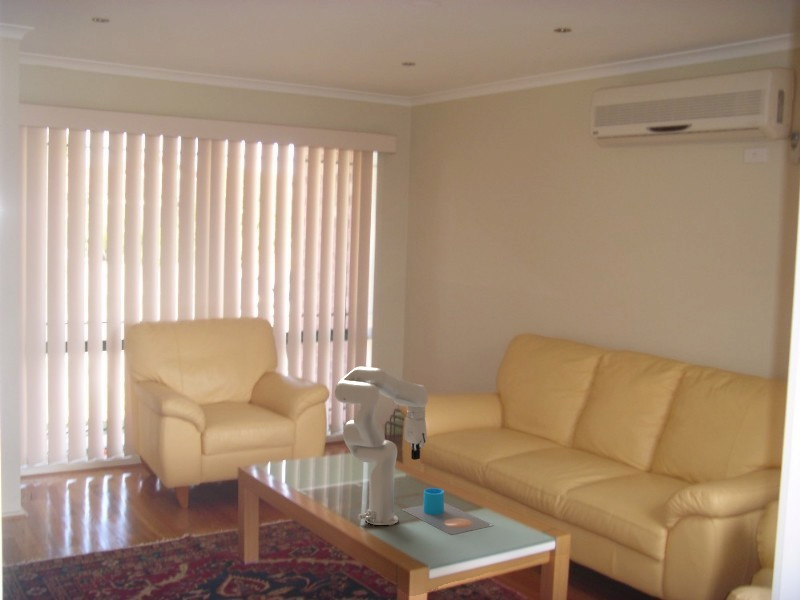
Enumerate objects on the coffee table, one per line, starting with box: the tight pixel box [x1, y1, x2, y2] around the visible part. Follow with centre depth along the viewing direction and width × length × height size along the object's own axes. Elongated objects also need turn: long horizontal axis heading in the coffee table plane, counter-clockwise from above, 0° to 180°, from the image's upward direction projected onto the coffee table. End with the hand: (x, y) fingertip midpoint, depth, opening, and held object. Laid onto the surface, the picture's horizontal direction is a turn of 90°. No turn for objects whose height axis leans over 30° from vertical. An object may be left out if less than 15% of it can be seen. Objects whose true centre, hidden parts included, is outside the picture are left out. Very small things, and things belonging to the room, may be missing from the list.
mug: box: [422, 487, 445, 515], centre depth 342 cm, size 12×8×8 cm
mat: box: [400, 502, 491, 536], centre depth 334 cm, size 20×34×1 cm, turn 33°
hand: (415, 458), depth 351 cm, fingers closed
